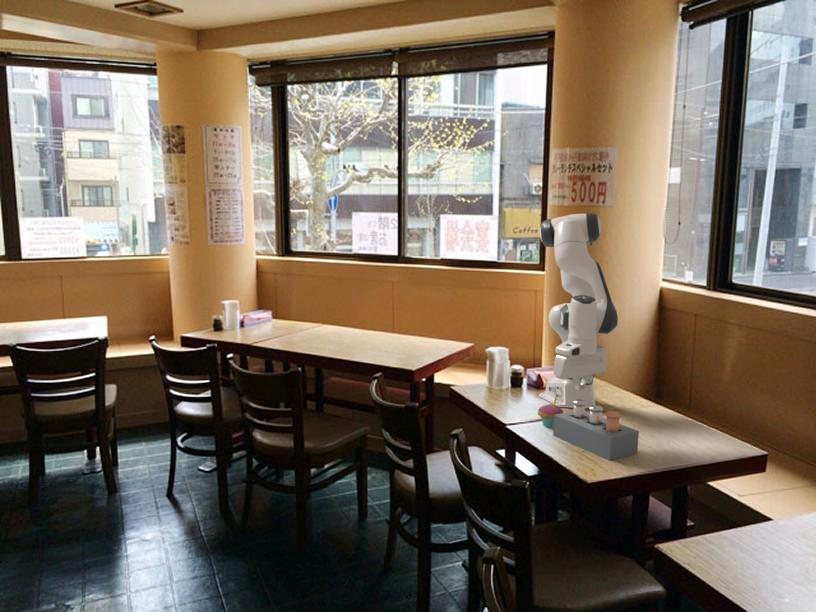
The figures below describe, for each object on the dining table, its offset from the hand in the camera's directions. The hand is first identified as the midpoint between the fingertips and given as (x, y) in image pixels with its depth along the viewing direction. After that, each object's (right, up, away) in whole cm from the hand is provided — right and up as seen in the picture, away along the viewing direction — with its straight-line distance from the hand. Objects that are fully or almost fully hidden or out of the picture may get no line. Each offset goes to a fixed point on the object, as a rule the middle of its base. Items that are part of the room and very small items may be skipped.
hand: (580, 389), depth 206 cm
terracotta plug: (+7, -14, -10) cm, 18 cm away
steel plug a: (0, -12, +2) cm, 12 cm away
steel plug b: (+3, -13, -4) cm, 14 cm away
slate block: (+3, -17, -3) cm, 18 cm away
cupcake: (-7, -14, +14) cm, 21 cm away
